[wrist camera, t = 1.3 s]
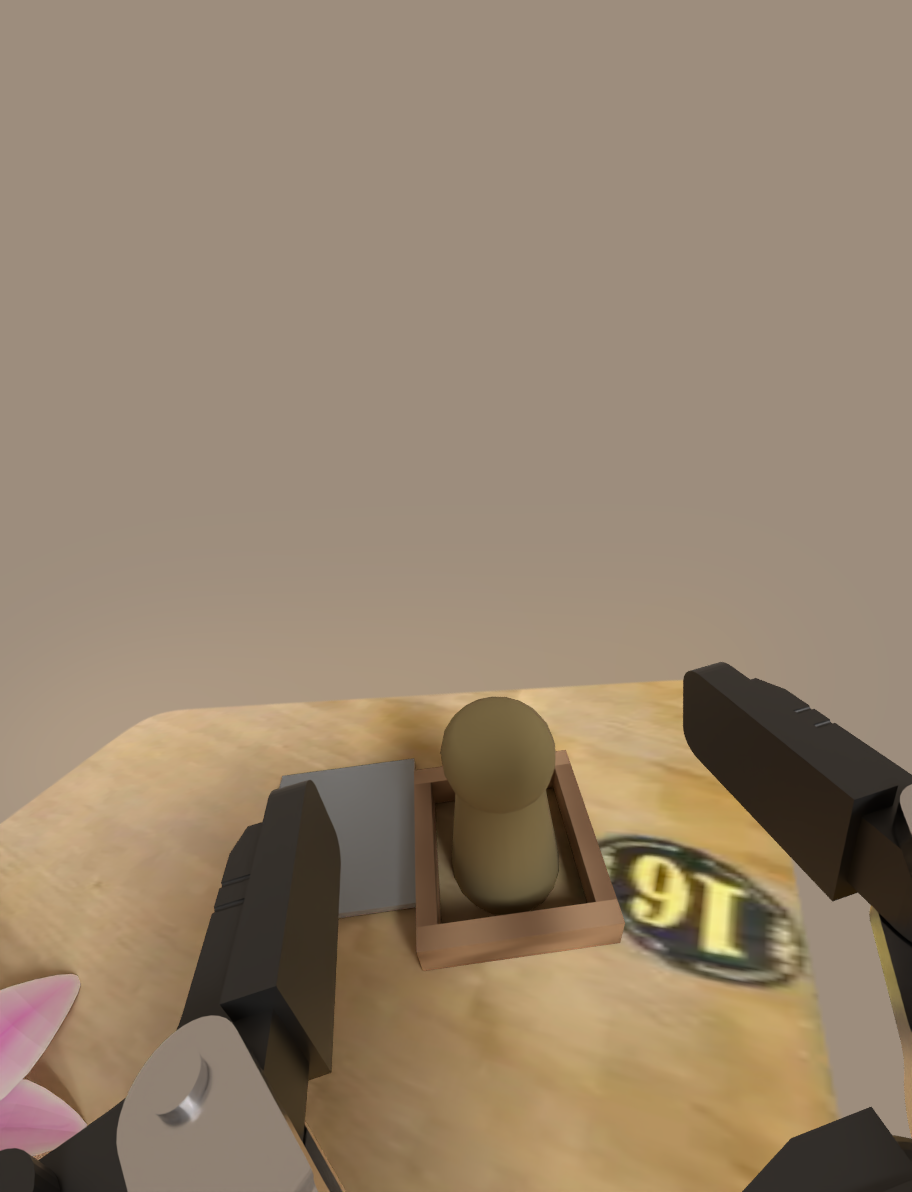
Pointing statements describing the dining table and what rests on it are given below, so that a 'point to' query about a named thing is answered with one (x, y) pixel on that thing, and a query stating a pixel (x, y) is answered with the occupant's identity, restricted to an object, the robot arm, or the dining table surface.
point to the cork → (501, 804)
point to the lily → (12, 1047)
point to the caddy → (518, 930)
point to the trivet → (371, 833)
